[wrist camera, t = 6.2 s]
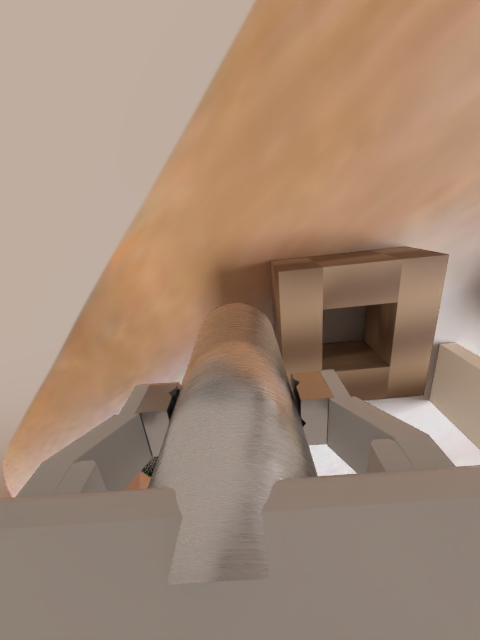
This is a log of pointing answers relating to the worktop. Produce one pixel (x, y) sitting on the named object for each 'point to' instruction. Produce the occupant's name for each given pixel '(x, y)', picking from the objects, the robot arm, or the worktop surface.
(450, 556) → the robot arm
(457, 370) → the cream panel with ledge
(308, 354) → the socket block
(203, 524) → the peg
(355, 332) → the worktop surface
